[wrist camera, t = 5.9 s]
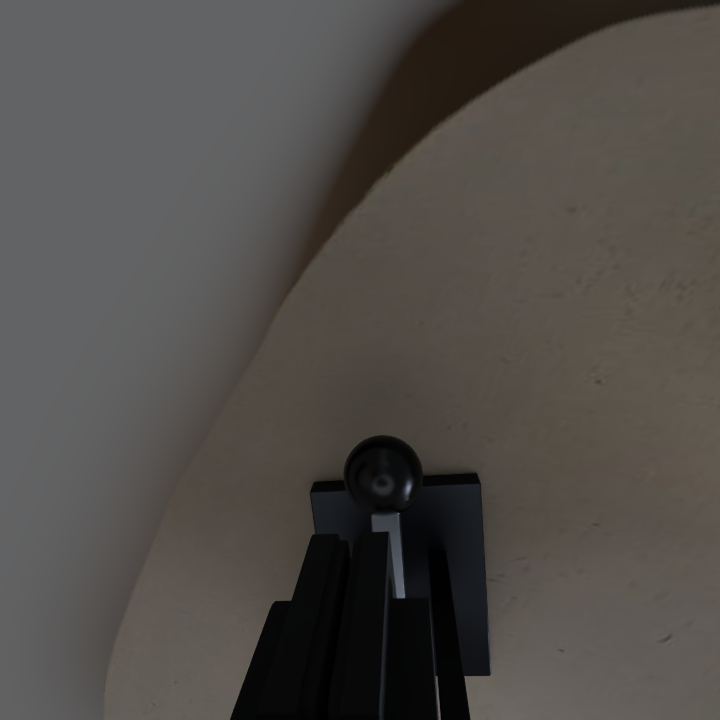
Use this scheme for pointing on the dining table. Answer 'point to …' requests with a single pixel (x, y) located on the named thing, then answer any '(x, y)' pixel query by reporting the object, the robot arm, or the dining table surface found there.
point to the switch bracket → (433, 571)
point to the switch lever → (385, 489)
